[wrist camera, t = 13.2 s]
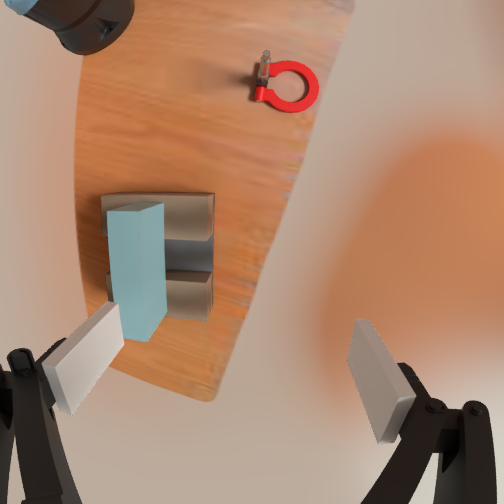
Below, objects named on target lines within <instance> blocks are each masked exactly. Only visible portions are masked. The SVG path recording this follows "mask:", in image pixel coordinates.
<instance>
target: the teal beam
mask: <svg viewBox="0 0 504 504" xmlns="http://www.w3.org/2000/svg"><path fill="white" fill-rule="evenodd" d="M107 227H108V245H109V259H110V270H111V281H112V290H113V298H114V302H115V303H118V305H119V313H120V320H121V327H122V334H123V338H125V339H131V340H138V341H145V342H148V340H149V339H150V337H151V336H152V334H153V333H154V331H155V330H156V328H157V326H158V325H159V323H160V322H161V320H162V319H163V317H164V316H165V314H166V313H167V298H166V278H165V251H164V203H148V202H137V203H133V204H130V205H126V206H123V207H119V208H116V209H112V210H109V211H107Z"/></svg>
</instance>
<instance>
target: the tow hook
mask: <svg viewBox="0 0 504 504" xmlns="http://www.w3.org/2000/svg"><path fill="white" fill-rule="evenodd" d="M270 61H271V58H270V51H268V50H265V51H264V52H263V56H262V57H261V61H260V69H259V71H258V75H257V81H256V92H255V98H254V101H256V102H263V101H266V102H269V103H270V104H271V105H272V106H273V107H275V108H276V109H278V110H281V111H283V112H289V113H295V112H300V111H303V110H306V109H307V108H309V107H310V106H311V105H312V104H313V103H314V102H315V100H316V98H317V96H318V92H319V85H318V80H317V78H316V76H315V74H314V73H313V72H312V71H311V70H310V69H309V68H308V67H307V66H305V65H304V64H301V63H299V62H295V61H282V62H279V63H276V64H272V63H270ZM284 71H295V72H297V73H300V74H301V75H302V76H303V77H304V78H305V79H306V81H307V83H308V93H307V96H306V97H305V98H304V99H302V100H301V101H298V102H293V103H291V102H286V101H283V100H281V99H280V98H279V97H278V96H277V95H276V94H275V92H274V90H272V89H267V84H268V78H269V76H271V77H275V76H277V75H278V74H279V73H281V72H284Z"/></svg>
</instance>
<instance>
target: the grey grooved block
mask: <svg viewBox="0 0 504 504" xmlns="http://www.w3.org/2000/svg"><path fill="white" fill-rule="evenodd" d="M137 202H148V203H164V251H165V278H166V298H167V313H166V314H165V316H164V317H169V318H178V319H189V320H199V321H207V319H208V316H209V314H210V311H211V308H212V306H213V244H214V203H215V193H187V192H117V193H112V194H106V195H101V215H102V236H108V227H107V211H109V210H112V209H116V208H119V207H123V206H126V205H130V204H133V203H137ZM106 284H107V293H108V301H109V302H114V298H113V290H112V281H111V271H110V272H108V273H107V274H106Z"/></svg>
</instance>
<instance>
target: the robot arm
mask: <svg viewBox="0 0 504 504" xmlns="http://www.w3.org/2000/svg"><path fill="white" fill-rule="evenodd" d="M4 2H5V4H6V5H7V6H8V7H9V8H11V9H12V10H14V11H15V12H17V14H19V15H23V16H25V17H27V18H29V19H31V20H33V21H35V22H37V23H39V24H41V25H43V26H45V27H47V28H49V29H51V30H53V31H54V32H55V34H56V35H57V37H58V38H59V40H60V42H61V44H62V45H63V47H64V48H66V49H67V50H69V51H71V52H72V53H75V54H78V55H88V54H92V53H95V52H98V51H100V50H102V49H104V48H105V47H107V46H108V45H110V44H111V43H112V42H114V41H115V40H116V39H117V38H118V37H119V36H120V35H121V34H122V33H123V32H124V30H125V29H126V28H127V26H128V24H129V23H130V21H131V19H132V16H133V13H134V0H4ZM123 345H124V340H123V334H122V327H121V320H120V313H119V305H118V303H115V302H106V303H105V304H103V305H102V306H101V307H100V308H99V309H98V310H97V311H96V312H95V313H94V314H92V315H91V316H90V317H89V318H88V319H87V320H86V321H85V322H84V323H83V324H82V325H81V326H80V327H78V328H77V329H76V330H75V331H74V332H73V333H72V334H71V335H70V336H69V337H68V338H63V339H61V340H59V341H57V342H56V343H55V344H54V345H52V346H51V348H49V349H48V350H47V352H45V353H44V354H43V355H42V356H41V357H40V358H39V359H38V360H37V361H36V362H35V361H34V358H33V355H32V352H31V351H30V350H29V349H26V348H19V349H15V350H13V351H11V352H10V353H9V354H8V356H7V361H8V363H9V365H10V368H11V371H12V372H10V371H3V369H2V366H1V364H0V504H7V494H8V481H9V471H10V463H11V455H12V448H13V442H14V436H15V438H16V446H17V454H18V460H19V467H20V472H21V478H22V483H23V488H24V492H25V497H26V499H25V500H22V502H21V504H82V502H81V499H80V497H79V494H78V491H77V489H76V486H75V483H74V480H73V478H72V475H71V472H70V469H69V466H68V463H67V459H66V456H65V453H64V450H63V446H62V442H61V438H60V435H59V431H58V427H57V423H56V419H55V414H54V411H53V409H52V406H53V405H54V403H55V402H56V403H57V406H58V408H59V411H61V412H63V413H66V414H69V415H73V414H74V413H75V412H76V410H77V409H78V407H79V406H80V404H81V403H82V401H83V400H84V399H85V397H86V396H87V394H88V393H89V392H90V390H91V389H92V388H93V386H94V385H95V383H96V382H97V381H98V379H99V378H100V376H101V375H102V374H103V372H104V371H105V369H106V368H107V367H108V365H109V364H110V363H111V361H112V360H113V359H114V357H115V356H116V355H117V353H118V352H119V351H120V349H121V348H122V347H123ZM347 363H348V365H349V368H350V371H351V373H352V376H353V378H354V381H355V383H356V386H357V388H358V391H359V394H360V397H361V399H362V402H363V404H364V407H365V410H366V413H367V415H368V418H369V421H370V424H371V426H372V429H373V432H374V435H375V438H376V440H377V443H378V445H379V444H387V443H393V442H395V440H396V438H397V436H398V434H400V437H401V441H400V443H399V445H398V446H397V448H396V450H395V452H394V453H393V455H392V457H391V458H390V460H389V462H388V463H387V465H386V467H385V468H384V470H383V471H382V473H381V475H380V476H379V478H378V479H377V481H376V482H375V484H374V485H373V487H372V488H371V490H370V491H369V492H368V494H367V495H366V497H365V498H364V500H363V501H362V502H361V504H408V503H409V502H410V500H411V498H412V496H413V494H414V492H415V490H416V488H417V486H418V484H419V482H420V480H421V478H422V475H423V473H424V471H425V469H426V467H427V465H428V462H429V460H430V457H431V455H432V453H439V459H438V470H437V480H436V487H435V495H434V502H433V504H497V486H496V467H495V456H494V445H493V437H492V430H491V423H490V417H489V411H488V409H487V407H486V406H485V405H484V404H483V403H481V402H479V401H468V402H466V403H465V404H464V406H463V407H462V409H448V408H447V406H446V405H445V403H443V402H442V401H441V400H439V399H436V398H431V397H430V395H429V394H428V392H427V391H426V389H425V388H424V386H423V385H422V383H421V382H420V380H419V378H418V377H417V376H416V374H415V372H414V371H413V369H412V368H411V367H410V366H408V365H407V364H406V363H396V361H395V360H394V358H393V356H392V355H391V353H390V352H389V350H388V349H387V347H386V345H385V344H384V342H383V341H382V339H381V337H380V336H379V334H378V333H377V331H376V330H375V328H374V326H373V325H372V323H371V322H370V320H369V319H356V321H355V325H354V330H353V335H352V339H351V344H350V349H349V353H348V357H347Z"/></svg>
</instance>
